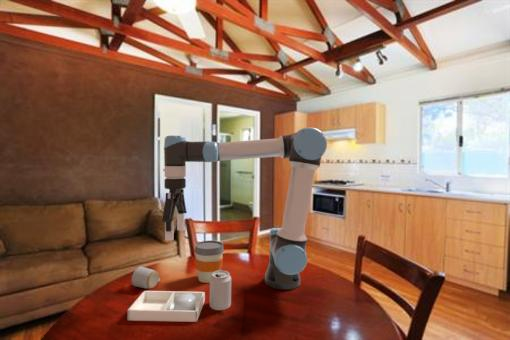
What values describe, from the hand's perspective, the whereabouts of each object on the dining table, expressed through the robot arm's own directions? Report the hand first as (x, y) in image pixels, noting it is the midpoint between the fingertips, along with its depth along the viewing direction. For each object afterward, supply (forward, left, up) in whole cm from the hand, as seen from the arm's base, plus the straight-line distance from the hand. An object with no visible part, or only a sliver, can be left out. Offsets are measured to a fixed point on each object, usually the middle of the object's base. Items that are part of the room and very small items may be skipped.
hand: (175, 235), depth 102 cm
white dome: (-6, +10, -23) cm, 26 cm away
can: (-18, +6, -24) cm, 30 cm away
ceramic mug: (+14, -10, -24) cm, 30 cm away
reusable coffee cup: (-10, -17, -24) cm, 31 cm away
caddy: (-1, +10, -24) cm, 26 cm away
